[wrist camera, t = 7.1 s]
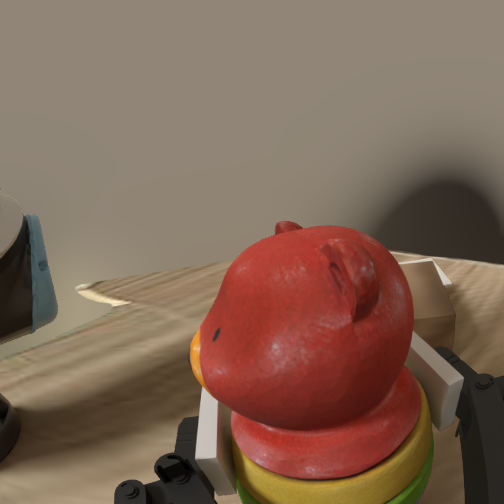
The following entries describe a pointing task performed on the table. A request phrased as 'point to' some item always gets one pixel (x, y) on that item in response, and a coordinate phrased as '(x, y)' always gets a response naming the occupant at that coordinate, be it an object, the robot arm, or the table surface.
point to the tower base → (430, 305)
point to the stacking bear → (317, 371)
